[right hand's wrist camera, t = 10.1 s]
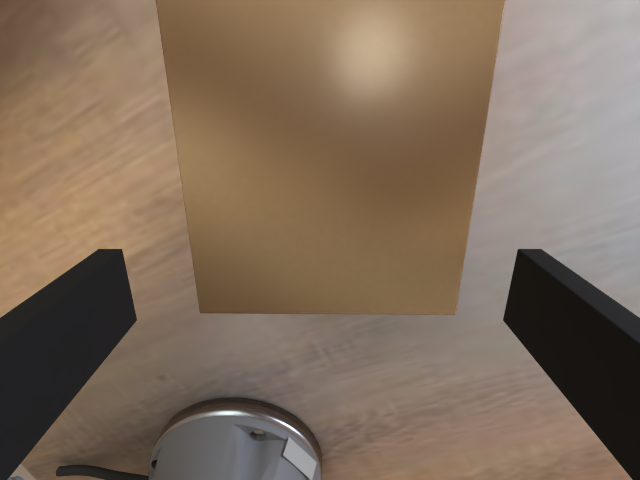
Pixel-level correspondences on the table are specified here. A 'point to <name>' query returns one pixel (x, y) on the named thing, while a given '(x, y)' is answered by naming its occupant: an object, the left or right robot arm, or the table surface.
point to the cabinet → (329, 148)
